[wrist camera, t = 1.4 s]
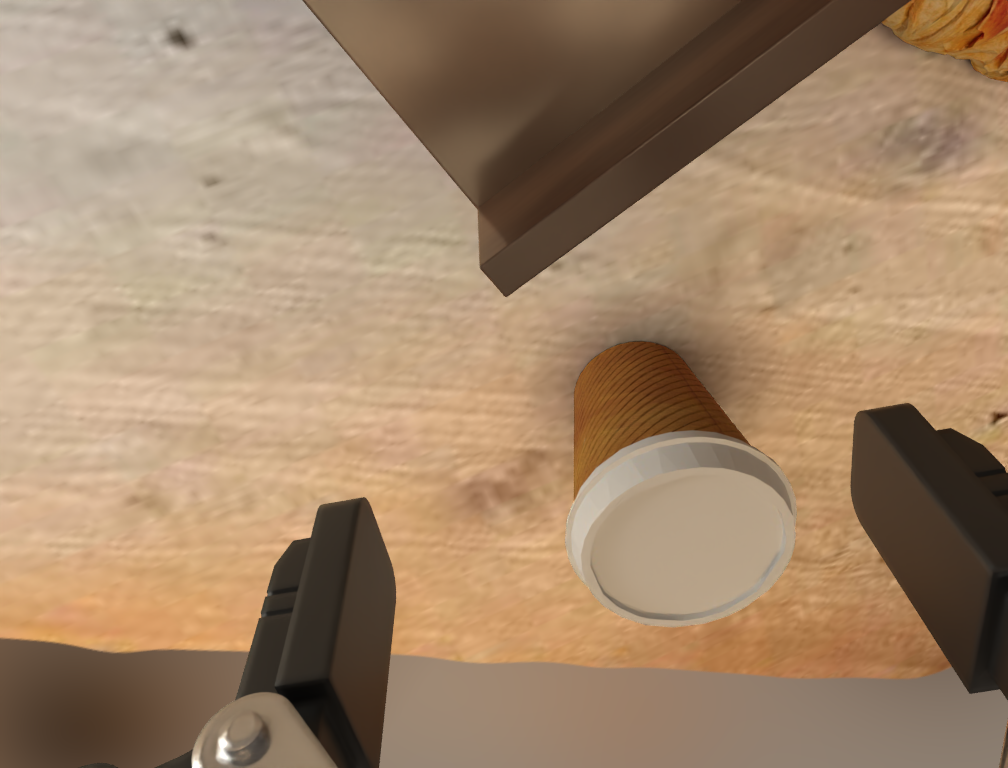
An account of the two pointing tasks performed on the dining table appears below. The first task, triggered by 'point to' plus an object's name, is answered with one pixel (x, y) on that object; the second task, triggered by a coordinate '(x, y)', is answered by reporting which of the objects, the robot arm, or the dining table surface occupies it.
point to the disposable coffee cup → (670, 495)
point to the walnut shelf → (580, 96)
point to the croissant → (958, 31)
